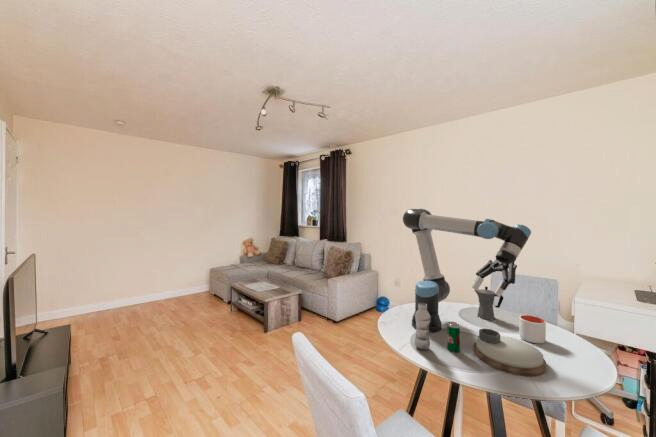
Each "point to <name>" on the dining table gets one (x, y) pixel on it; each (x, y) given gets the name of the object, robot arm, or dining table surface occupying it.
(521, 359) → the dial
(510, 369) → the base
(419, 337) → the plastic bottle
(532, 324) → the cup
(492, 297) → the coffeepot
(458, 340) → the soda can
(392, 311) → the dining table surface
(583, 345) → the dining table surface
